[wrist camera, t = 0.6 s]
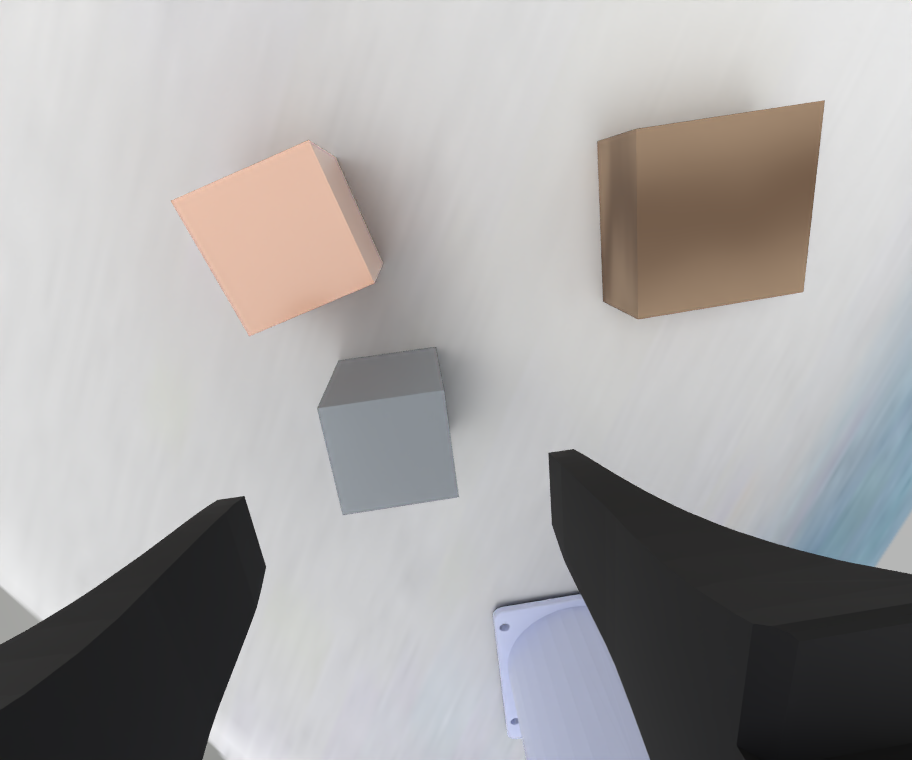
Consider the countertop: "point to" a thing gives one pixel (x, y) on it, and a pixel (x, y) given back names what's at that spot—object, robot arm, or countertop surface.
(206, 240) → the terracotta block
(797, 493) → the countertop surface
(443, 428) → the slate block
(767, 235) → the walnut block
